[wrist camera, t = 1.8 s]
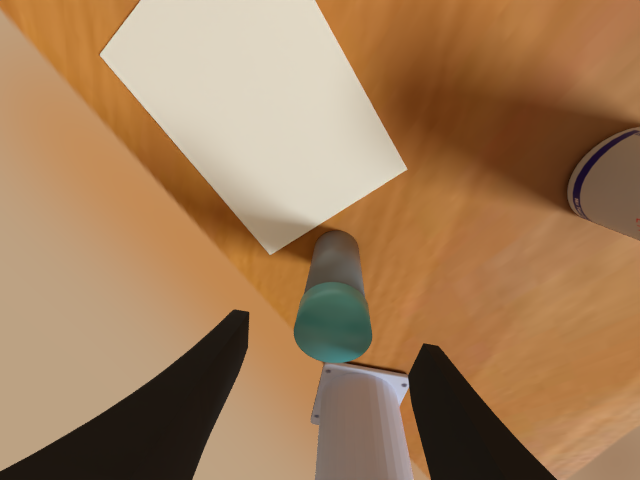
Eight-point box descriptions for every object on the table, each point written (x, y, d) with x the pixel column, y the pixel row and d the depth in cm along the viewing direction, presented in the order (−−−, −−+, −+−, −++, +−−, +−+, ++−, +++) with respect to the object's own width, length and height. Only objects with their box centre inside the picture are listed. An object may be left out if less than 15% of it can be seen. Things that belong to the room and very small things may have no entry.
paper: (406, 168, 15) (407, 169, 15) (270, 253, 19) (270, 255, 18) (243, -129, 11) (241, -133, 10) (102, 55, 14) (99, 54, 14)
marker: (354, 274, 19) (362, 368, 12) (310, 266, 19) (290, 355, 12) (364, 233, 17) (381, 313, 10) (316, 225, 17) (298, 298, 10)
